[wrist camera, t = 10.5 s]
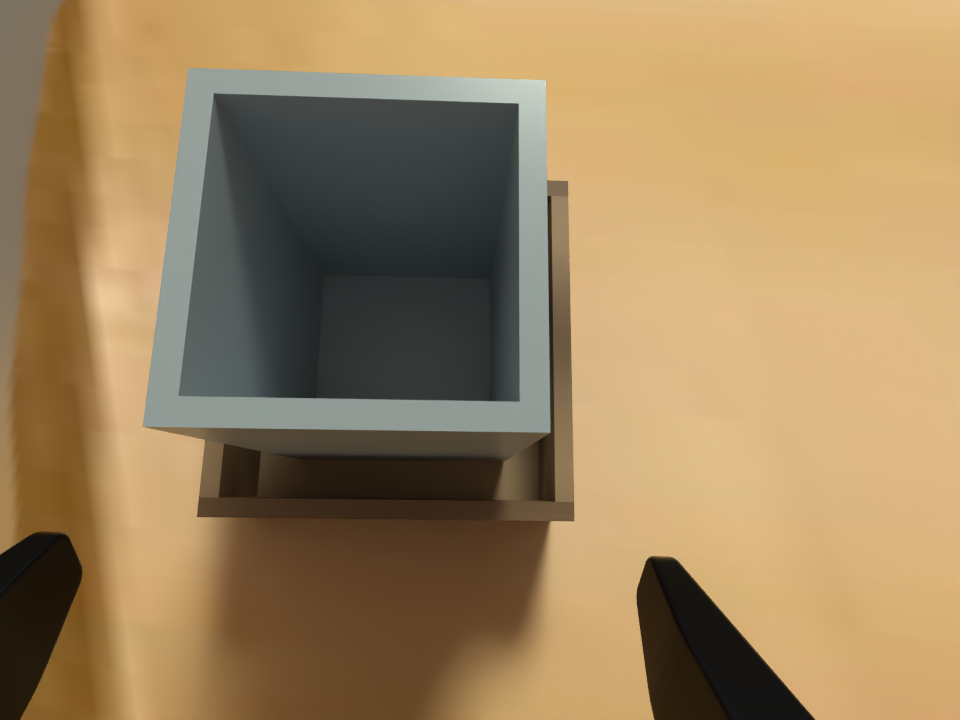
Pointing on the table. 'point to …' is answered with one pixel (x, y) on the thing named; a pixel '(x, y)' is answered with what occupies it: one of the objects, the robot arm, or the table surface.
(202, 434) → the grey crate
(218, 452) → the walnut crate
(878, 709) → the table surface
